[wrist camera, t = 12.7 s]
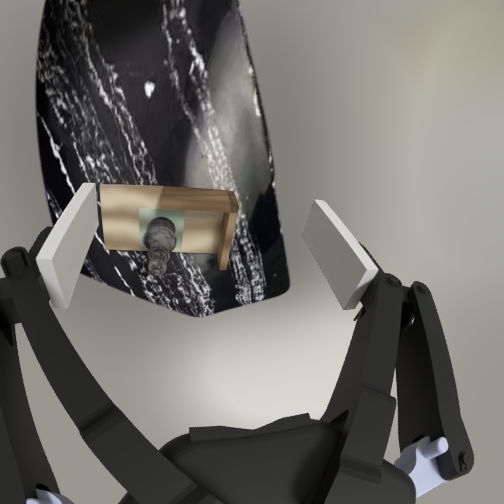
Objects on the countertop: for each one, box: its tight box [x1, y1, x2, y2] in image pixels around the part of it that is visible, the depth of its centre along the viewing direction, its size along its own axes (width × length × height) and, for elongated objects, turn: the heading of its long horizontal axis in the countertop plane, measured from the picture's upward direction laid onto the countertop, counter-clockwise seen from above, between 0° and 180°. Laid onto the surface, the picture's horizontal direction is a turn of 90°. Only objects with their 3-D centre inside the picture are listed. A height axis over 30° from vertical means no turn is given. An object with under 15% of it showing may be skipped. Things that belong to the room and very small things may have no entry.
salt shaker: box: [143, 217, 177, 276], centre depth 42 cm, size 6×6×12 cm
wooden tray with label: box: [100, 184, 239, 270], centre depth 45 cm, size 13×23×6 cm, turn 78°
